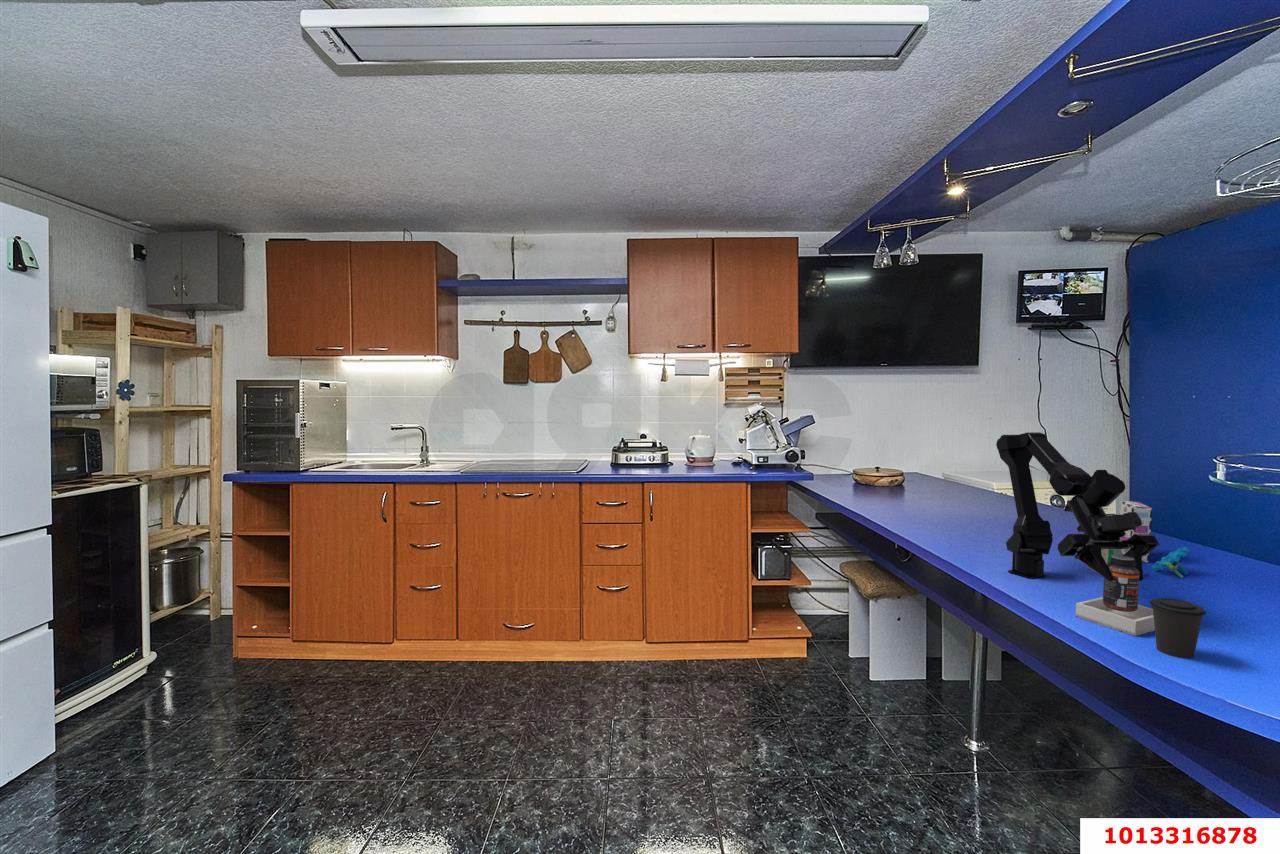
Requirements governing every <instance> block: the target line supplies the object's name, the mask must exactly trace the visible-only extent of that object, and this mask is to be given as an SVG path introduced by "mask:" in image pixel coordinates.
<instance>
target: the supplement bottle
mask: <svg viewBox="0 0 1280 854" xmlns="http://www.w3.org/2000/svg"><path fill="white" fill-rule="evenodd" d="M1110 561H1111V563H1110V564H1108V565H1107V566H1108V568H1109V570H1110V571H1111V574H1112V576H1113V580H1112V581H1108V580H1107V579H1106V578H1104V577H1103V589H1102V590H1103V592H1102V594H1103V595H1102V597H1103V604H1104V605H1105V606H1106V607H1108V608H1111V609H1114V610H1118V611H1123V612H1134V611H1136V610H1137V608H1138V605H1139V595H1140V594H1139V591H1140V590H1139V589H1140V581H1139V579H1140V572H1139V570H1138V569H1136V567H1135V566H1134V565H1135V559H1134V558H1132V557H1128V556H1123V555H1112V556H1111V560H1110Z"/></svg>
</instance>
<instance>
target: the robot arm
mask: <svg viewBox="0 0 1280 854" xmlns="http://www.w3.org/2000/svg"><path fill="white" fill-rule="evenodd" d="M995 446H996V449H997V450H998V455H999V458H1000V459H1001V460H1002V462H1004V463H1005V464H1006V466H1007V467H1008V471H1009V477H1010V481H1011V487H1012V491H1013V497H1014V503H1015V510H1016V514H1017V519H1016V520H1015V522H1014V524H1013V526H1012V531H1013V533H1012V535H1011V536H1010V537H1009V539H1008V540H1007V541H1006V542H1005V545H1006V550H1007V551H1009V552H1011V553H1012V562H1011V563H1012V564H1011V566H1012V567H1011V569H1008V570H1007V572H1008V573H1010V574H1014V575H1017V576H1020V577H1023V578H1028V579H1036V578H1040V577H1046V576H1047V574H1046V573H1044V569H1045V560H1044V559H1043V556H1044V555H1049V554H1050V551H1051V549H1052V545H1053V544H1052V543H1053V541H1054V539H1053V533H1052V529H1051V523H1050V522H1049V520H1044V519H1043V518H1042V517H1041V515H1040V513H1039V508H1038V503H1037V498H1036V494H1035V493H1036V492H1035V488H1034V487H1035V486H1034V482H1033V478H1032V472H1031V468H1030V463H1031V460H1032V459H1033V457H1034V459H1036V460H1037V461H1038V463H1039V464H1040V465H1041V466H1042V468H1043V469H1044V470H1045V471H1046V472H1047V473H1048V475H1049V480H1048V481H1049V482H1048V483H1049V484H1050V486H1051V487H1052V489H1053V491H1054V492H1055V493H1056V494H1057V495H1058V496H1060V497H1061V496H1062V497H1065V496H1066V497H1068V496H1069V497H1072V496H1073V497H1072V498H1071V499H1069V500H1068V499H1067V500H1066V503H1065V505H1064V509H1063V510H1064V512H1072V514H1073V516H1074V517H1075V520H1076V521H1077V523H1078V526H1077V527H1076V530H1077V532H1078V533H1067V534H1066V536H1065V537H1064V538H1062V540H1061V541H1060V542H1059V543H1058V544H1057V550H1058V553H1059V554H1060V556H1062V557H1073V558H1074V560H1080V561H1081V562H1082V563H1083V564H1085V565H1086V566H1087V565H1088V566H1090V567H1091V568H1093V569H1094V570H1095V571H1097V572H1098V573H1097V572H1096V573H1097V574H1099V575H1100V574H1101V576H1102V577H1103V579H1104V578H1106V579H1107V580H1108V581H1112V580H1113V576H1112V574H1111V571H1110V570H1109V568H1108V566H1107V564H1106V562H1105V560H1104V558H1103V556H1102V554H1101V549H1120V550H1121V552H1122V553H1123V556H1128V557H1132V558H1134V559H1135V565H1134V566H1135V567H1136V569H1138V570H1139V572H1140V579H1139V582H1142V581H1144V571H1143V570H1144V569H1143V562H1142V556H1146V555H1147V554H1148V553H1149V554H1150V553H1152V551H1154V550H1155V549H1156V548H1157V547H1159V546H1160V541H1159V540H1158V539H1157V537H1156V536H1155V535H1153V534H1134V535H1133V536H1131V537H1130V538H1129V539H1128V540H1120V537H1123V536H1125V535H1126V533H1125V531H1128V530H1136V527H1139V526H1141V525H1142V522H1141V518H1140V517H1139V516H1138V514H1137V513H1136V512H1128V513H1124V514H1123V515H1120V514H1108V515H1107V513H1106V511H1105V510H1104V508H1105V507H1108V506H1110V505H1111V504H1112V503H1113V502H1114V501H1115V500H1116V499H1117V498H1118V497H1120V495H1121V494H1122V493H1123V492H1125V490H1126V484H1125V482H1124V481H1123V480H1122V479H1120V478H1119V477H1118V476H1116V475H1115V474H1111V473H1109V472H1108V470H1106V469H1096V470H1095V471H1094V472H1093V474H1092V476H1091V475H1090V474H1089V472H1087V471H1085V470H1084V469H1083V468H1082V467H1078V466H1077V465H1073V464H1071V463H1070V462H1068V461H1067V459H1066V458H1064V457H1063V455H1062V454H1061V453H1060V452H1059V451H1058V450H1057V449H1056V448H1055V447H1054V446H1053V444H1052V443H1051V442H1050V441H1049V440H1048V438H1047V436H1046V434H1045V433H1042V432H1024V433H1020V434H1001V436H999V438H998V439H997V440H996V445H995ZM1095 571H1094V572H1095Z"/></svg>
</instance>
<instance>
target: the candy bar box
mask: <svg viewBox="0 0 1280 854" xmlns="http://www.w3.org/2000/svg"><path fill="white" fill-rule="evenodd" d="M1119 511H1120V512H1119V515H1123V514H1124V513H1128V512H1136V513H1137V514H1138V516H1139V517H1140V518H1141V522H1142V525H1141V526H1139V527H1136V530H1128V531H1125V533H1126V535H1125V536H1123V537H1120V538H1122V539H1123V540H1128V539H1129V538H1130V537H1131V536H1133V535H1134V534H1150V535H1152V517H1153V507H1151V506H1148V505H1147V504H1144V503H1142V502H1140V501H1132V500H1120V509H1119ZM1122 555H1123V553H1122ZM1144 562H1145V563H1147V564H1148V563H1150V552H1149V553H1148V554H1147V555H1146V556H1142V563H1144Z"/></svg>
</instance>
